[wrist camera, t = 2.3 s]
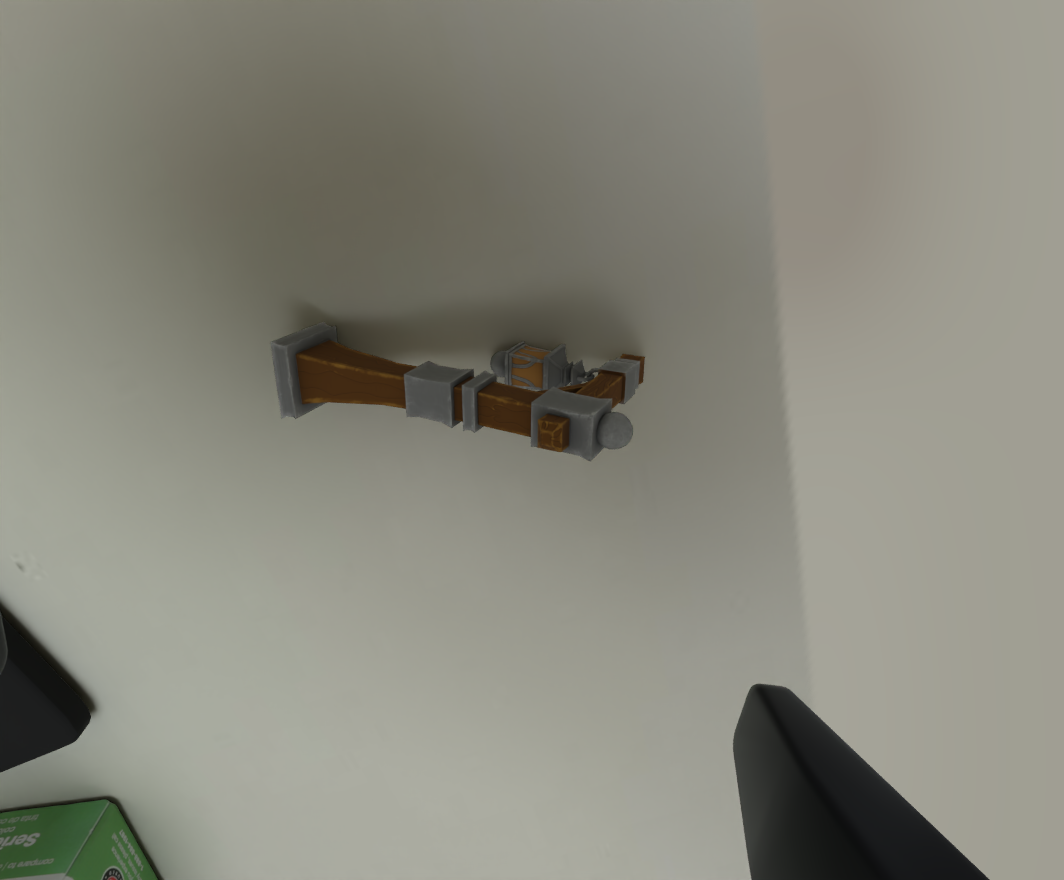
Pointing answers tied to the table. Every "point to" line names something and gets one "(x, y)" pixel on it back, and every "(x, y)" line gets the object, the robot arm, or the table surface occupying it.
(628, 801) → the table surface
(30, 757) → the cell phone
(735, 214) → the table surface
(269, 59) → the table surface
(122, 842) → the ink box
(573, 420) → the wooden post with brackets
